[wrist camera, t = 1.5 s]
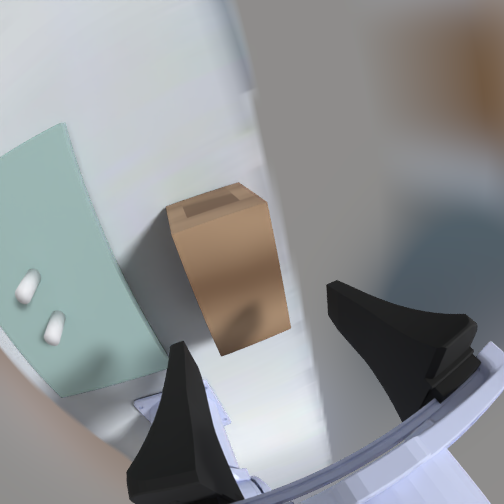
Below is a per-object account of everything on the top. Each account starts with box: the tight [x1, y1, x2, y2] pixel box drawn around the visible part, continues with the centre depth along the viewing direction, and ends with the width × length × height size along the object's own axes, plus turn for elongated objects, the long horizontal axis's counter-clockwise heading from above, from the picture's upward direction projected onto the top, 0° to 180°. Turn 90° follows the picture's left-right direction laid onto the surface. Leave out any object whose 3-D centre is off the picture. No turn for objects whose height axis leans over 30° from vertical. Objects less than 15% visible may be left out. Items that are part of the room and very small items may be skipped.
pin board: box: [0, 123, 169, 398], centre depth 16 cm, size 20×12×4 cm, turn 13°
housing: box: [166, 182, 291, 357], centre depth 18 cm, size 9×5×5 cm, turn 13°
